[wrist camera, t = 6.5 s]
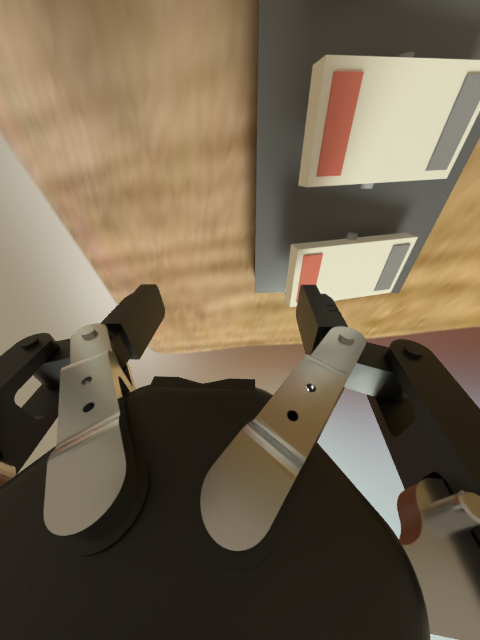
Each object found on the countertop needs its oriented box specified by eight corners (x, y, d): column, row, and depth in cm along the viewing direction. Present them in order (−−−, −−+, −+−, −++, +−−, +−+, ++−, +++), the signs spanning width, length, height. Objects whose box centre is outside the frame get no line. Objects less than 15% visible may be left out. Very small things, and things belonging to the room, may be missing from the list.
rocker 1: (477, 60, 9) (513, 47, 8) (423, 183, 12) (445, 185, 11) (311, 55, 8) (329, 39, 7) (295, 191, 11) (306, 194, 10)
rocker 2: (404, 227, 13) (422, 232, 12) (377, 288, 16) (390, 296, 15) (290, 238, 12) (299, 244, 11) (282, 301, 15) (289, 311, 14)
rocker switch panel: (614, -260, 7) (798, -476, 5) (381, 276, 19) (398, 292, 17) (261, -202, 8) (264, -360, 5) (254, 277, 20) (254, 292, 18)
